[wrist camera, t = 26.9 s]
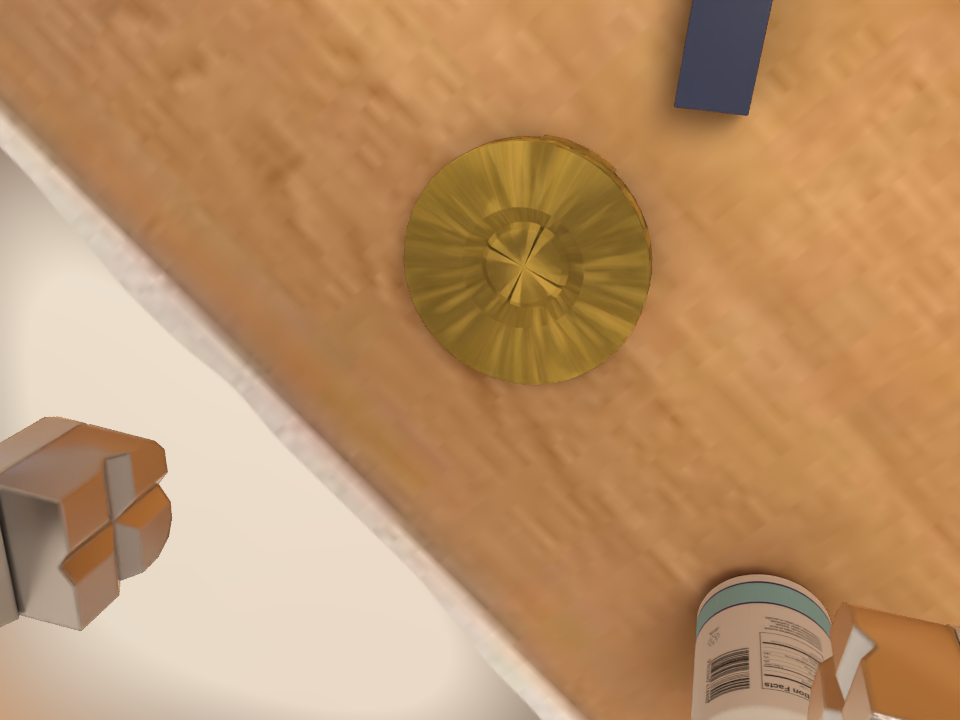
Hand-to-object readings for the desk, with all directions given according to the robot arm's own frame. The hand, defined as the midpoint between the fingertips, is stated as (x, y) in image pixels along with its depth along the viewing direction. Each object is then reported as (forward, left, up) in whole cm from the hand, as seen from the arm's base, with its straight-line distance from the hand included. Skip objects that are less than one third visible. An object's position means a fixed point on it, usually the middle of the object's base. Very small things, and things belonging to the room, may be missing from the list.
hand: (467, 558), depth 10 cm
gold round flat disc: (-4, -7, -31) cm, 32 cm away
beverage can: (+15, -21, -31) cm, 41 cm away
